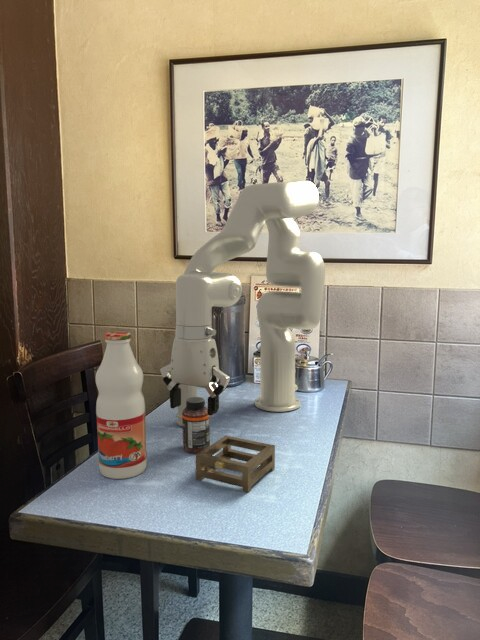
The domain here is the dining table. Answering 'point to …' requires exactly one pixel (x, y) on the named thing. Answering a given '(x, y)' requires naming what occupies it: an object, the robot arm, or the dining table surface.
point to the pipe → (185, 396)
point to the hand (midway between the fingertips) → (193, 410)
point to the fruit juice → (120, 410)
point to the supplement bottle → (195, 425)
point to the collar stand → (235, 462)
